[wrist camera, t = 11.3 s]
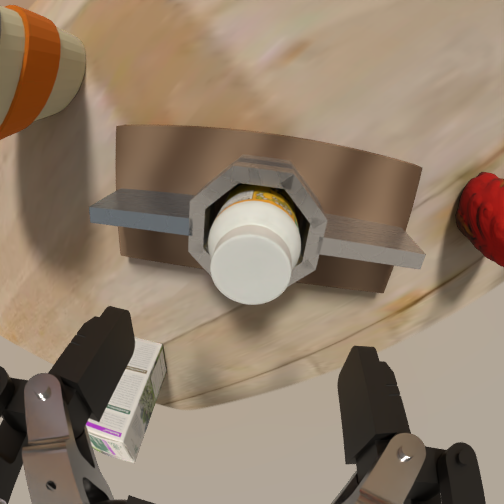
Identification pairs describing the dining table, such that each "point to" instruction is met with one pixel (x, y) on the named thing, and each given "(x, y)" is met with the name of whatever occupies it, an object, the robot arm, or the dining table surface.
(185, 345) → the dining table surface
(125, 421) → the syrup box
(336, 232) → the grey winged octagonal holder
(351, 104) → the dining table surface
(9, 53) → the reusable coffee cup
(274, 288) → the supplement bottle
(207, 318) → the dining table surface
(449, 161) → the dining table surface
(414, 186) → the board
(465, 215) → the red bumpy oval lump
